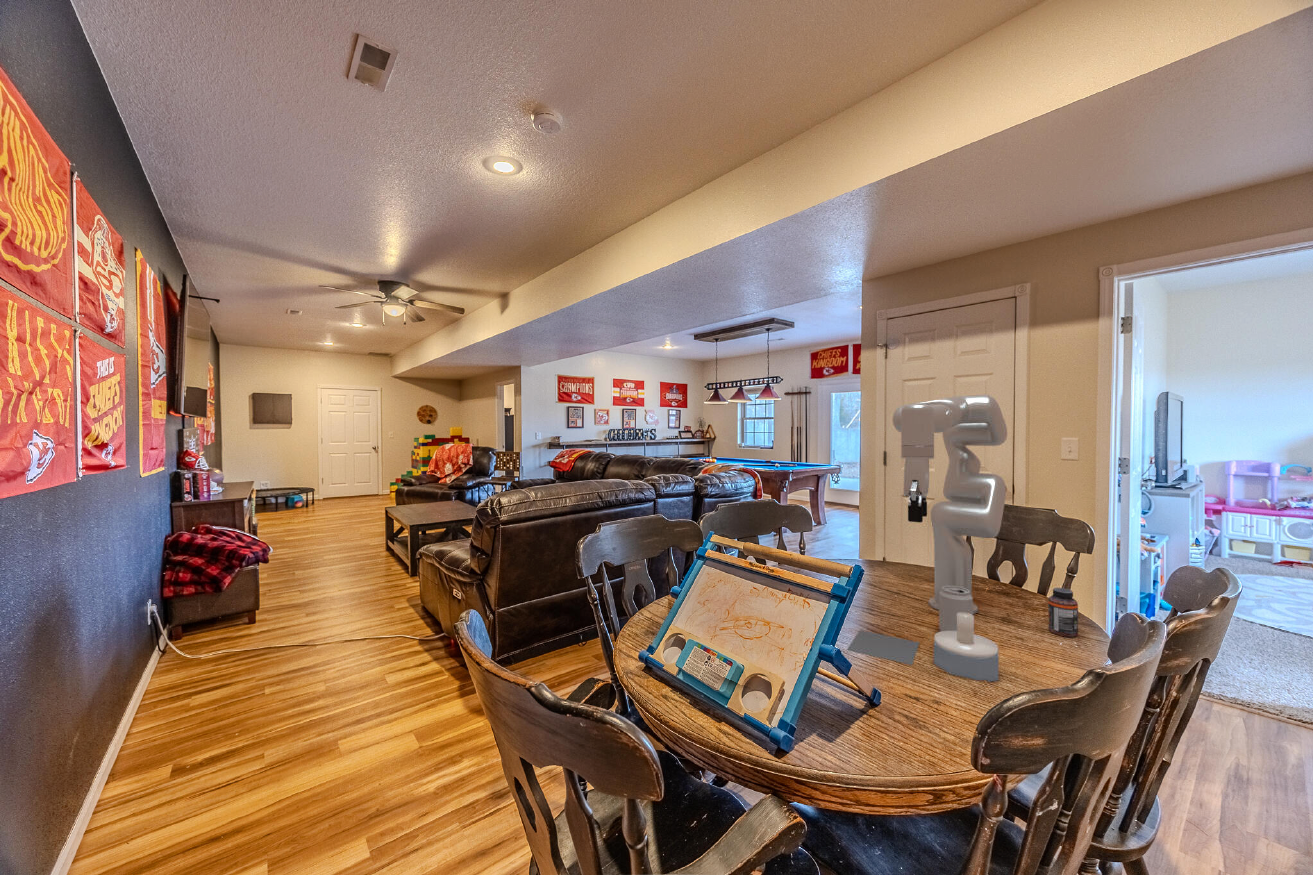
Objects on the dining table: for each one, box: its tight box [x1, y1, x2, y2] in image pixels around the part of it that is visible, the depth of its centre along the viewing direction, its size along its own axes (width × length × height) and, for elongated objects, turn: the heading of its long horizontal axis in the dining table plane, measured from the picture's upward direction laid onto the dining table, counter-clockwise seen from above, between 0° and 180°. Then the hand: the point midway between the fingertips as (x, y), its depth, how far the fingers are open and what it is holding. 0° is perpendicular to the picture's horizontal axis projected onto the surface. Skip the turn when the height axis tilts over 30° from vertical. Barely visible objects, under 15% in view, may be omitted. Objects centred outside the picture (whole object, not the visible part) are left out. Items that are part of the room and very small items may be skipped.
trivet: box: [846, 629, 921, 666], centre depth 120 cm, size 14×14×1 cm
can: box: [938, 586, 974, 632], centre depth 128 cm, size 8×8×12 cm
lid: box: [934, 612, 999, 658], centre depth 110 cm, size 12×12×7 cm
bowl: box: [933, 640, 1000, 683], centre depth 110 cm, size 12×12×5 cm
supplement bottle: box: [1047, 587, 1079, 638], centre depth 128 cm, size 6×6×11 cm
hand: (917, 518), depth 127 cm, fingers open, 9 cm apart
